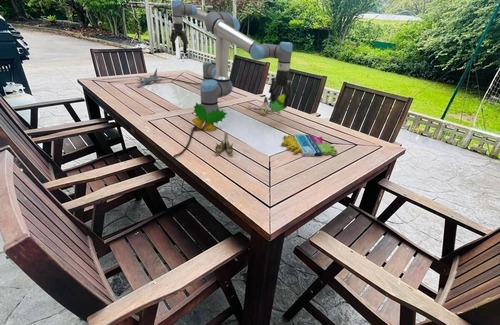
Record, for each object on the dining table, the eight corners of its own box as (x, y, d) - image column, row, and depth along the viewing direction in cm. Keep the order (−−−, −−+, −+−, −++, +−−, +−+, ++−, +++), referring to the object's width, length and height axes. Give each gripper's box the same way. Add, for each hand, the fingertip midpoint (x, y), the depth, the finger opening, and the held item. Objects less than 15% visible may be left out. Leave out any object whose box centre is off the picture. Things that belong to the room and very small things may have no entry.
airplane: (130, 79, 264) (128, 69, 259) (162, 77, 277) (161, 68, 272) (135, 89, 236) (133, 78, 230) (170, 87, 249) (169, 76, 244)
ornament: (218, 133, 171) (224, 110, 169) (221, 134, 163) (227, 111, 161) (186, 125, 162) (192, 101, 160) (189, 126, 155) (195, 101, 153)
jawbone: (234, 135, 144) (233, 125, 135) (233, 160, 138) (232, 151, 129) (217, 135, 144) (216, 125, 135) (216, 160, 138) (214, 150, 129)
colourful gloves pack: (340, 153, 140) (285, 152, 138) (339, 156, 141) (285, 155, 138) (325, 134, 163) (277, 133, 160) (324, 137, 163) (277, 136, 161)
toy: (286, 98, 212) (281, 108, 186) (285, 107, 216) (280, 118, 190) (253, 94, 217) (244, 103, 191) (252, 103, 221) (243, 112, 195)
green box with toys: (277, 106, 178) (279, 90, 172) (288, 109, 173) (290, 92, 168) (268, 110, 169) (269, 93, 164) (279, 113, 165) (281, 95, 159)
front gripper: (265, 67, 162) (262, 103, 173) (295, 73, 151) (290, 111, 162) (271, 66, 167) (268, 101, 178) (301, 72, 156) (296, 108, 167)
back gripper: (163, 22, 209) (166, 50, 219) (184, 24, 196) (186, 54, 207) (171, 22, 214) (173, 50, 225) (192, 24, 202) (193, 53, 212)
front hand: (278, 106), depth 170 cm, fingers closed on green box with toys, 9 cm apart
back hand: (179, 52), depth 216 cm, fingers open, 13 cm apart
